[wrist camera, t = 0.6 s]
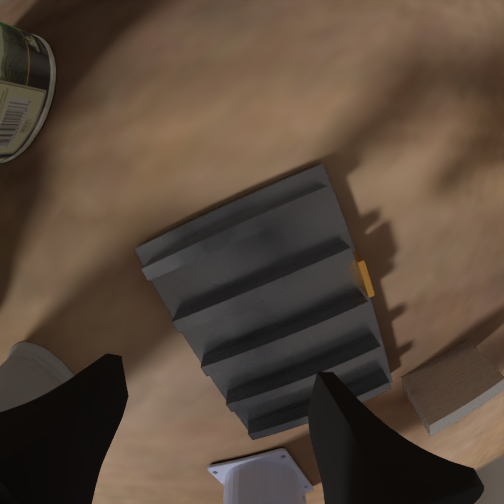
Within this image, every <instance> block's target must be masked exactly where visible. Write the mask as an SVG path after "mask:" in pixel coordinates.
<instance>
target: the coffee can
mask: <svg viewBox="0 0 504 504" xmlns="http://www.w3.org/2000/svg"><path fill="white" fill-rule="evenodd" d="M55 82H56V65H55V59H54V55H53V52H52V50H51V48H50V46H49V44H48V43H47V42H46V41H45V40H44V39H43V38H41V37H39V36H37V35H34V34H30V33H28V32H25V31H23V30H21V29H18V28H16V27H13V26H11V25H8V24H6V23H3V22H1V21H0V163H4V162H7V161H10V160H12V159H14V158H16V157H17V156H19V155H20V154H21V153H22V152H23V151H24V150H25V149H26V148H27V147H28V146H29V145H30V144H31V142H32V141H33V140H34V138H35V137H36V135H37V134H38V132H39V131H40V129H41V127H42V125H43V123H44V121H45V119H46V117H47V114H48V112H49V109H50V106H51V102H52V99H53V95H54V89H55Z"/></svg>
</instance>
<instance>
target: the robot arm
mask: <svg viewBox="0 0 504 504" xmlns="http://www.w3.org/2000/svg"><path fill="white" fill-rule="evenodd" d="M127 400H128V391H127V386H126V380H125V375H124V369H123V363H122V356H119V355H113V354H105V355H104V356H102V357H101V358H99V359H98V360H96V361H95V362H94V363H92V364H91V365H89V366H88V367H87V368H85V369H84V370H82V371H81V372H79V373H78V374H76V375H75V376H74V377H72V378H71V379H69V380H68V381H66V382H64V383H63V384H61V385H59V386H58V387H56V388H54V389H53V390H51V391H49V392H48V393H46V394H44V395H42V396H40V397H38V398H36V399H34V400H32V401H29V402H27V403H25V404H22V405H19V406H17V407H14V408H11V409H8V410H5V411H2V412H0V504H92V500H93V495H94V491H95V487H96V483H97V479H98V476H99V472H100V468H101V466H102V463H103V460H104V458H105V456H106V453H107V451H108V449H109V447H110V444H111V442H112V440H113V438H114V435H115V433H116V431H117V429H118V426H119V424H120V422H121V419H122V417H123V414H124V410H125V407H126V403H127ZM307 412H308V422H309V431H310V436H311V440H312V444H313V449H314V453H315V456H316V460H317V464H318V468H319V472H320V476H321V480H322V485H323V492H324V500H325V504H474V503H475V502H476V501H477V500H478V499H479V498H480V496H481V495H482V493H483V491H484V485H483V484H482V482H481V480H480V478H479V477H478V475H477V473H476V471H475V470H474V468H470V467H467V466H464V465H461V464H457V463H454V462H451V461H448V460H446V459H444V458H441V457H439V456H437V455H434V454H432V453H430V452H428V451H426V450H424V449H422V448H420V447H419V446H417V445H415V444H413V443H412V442H410V441H408V440H407V439H405V438H404V437H402V436H401V435H399V434H398V433H397V432H395V431H394V430H392V429H391V428H390V427H388V426H387V425H386V424H385V423H383V422H382V421H381V420H380V419H379V418H378V417H376V416H375V415H374V414H373V413H372V412H371V411H370V410H369V409H368V408H367V407H366V406H365V405H364V404H363V403H362V402H361V401H360V400H359V399H358V398H357V397H356V396H355V395H354V394H353V393H352V392H351V391H350V390H349V389H348V388H347V387H346V386H345V384H344V383H343V382H342V381H341V380H340V379H339V378H338V377H337V376H336V374H335V373H334V372H317V375H316V379H315V383H314V387H313V391H312V395H311V399H310V403H309V407H308V410H307ZM208 471H209V472H210V473H211V474H212V475H213V476H214V477H215V478H217V479H218V480H219V481H220V482H221V483H222V484H223V485H224V496H223V504H307V503H306V496H305V493H307V492H310V491H312V490H313V486H312V485H311V483H310V482H309V481H308V479H307V478H306V476H305V475H304V474H303V472H302V471H301V470H300V468H299V467H298V466H297V464H296V463H295V461H294V460H293V459H292V457H291V456H290V454H289V453H288V452H287V450H286V449H284V448H280V449H276V450H272V451H269V452H265V453H261V454H257V455H253V456H249V457H245V458H241V459H237V460H232V461H227V462H222V463H217V464H212V465H209V466H208Z"/></svg>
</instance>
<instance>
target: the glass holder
mask: <svg viewBox="0 0 504 504" xmlns="http://www.w3.org/2000/svg"><path fill="white" fill-rule="evenodd" d="M72 377H74V375H73V374H72V372H71V371H70V370H69V368H68V367H67V366H66V365H65V364H64V363H63V362H62V361H61V360H60V359H59V358H58V357H56V356H55V355H54V354H52V353H51V352H50V351H48V350H46V349H45V348H43V347H41V346H39V345H37V344H34V343H30V342H19V343H17V344H15V345H14V346H13V347H12V348H11V350H10V352H9V355H8V358H7V360H6V361H5V362H4V363H3V364H2V365H1V366H0V412H2V411H5V410H8V409H11V408H14V407H17V406H19V405H22V404H25V403H27V402H29V401H32V400H34V399H36V398H38V397H40V396H42V395H44V394H46V393H48V392H49V391H51V390H53V389H54V388H56V387H58V386H59V385H61V384H63V383H64V382H66V381H68V380H69V379H71V378H72Z"/></svg>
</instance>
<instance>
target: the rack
mask: <svg viewBox="0 0 504 504" xmlns="http://www.w3.org/2000/svg"><path fill="white" fill-rule="evenodd" d="M134 250H135V251H136V253H137V255H138V257H139V259H140V261H141V263H142V265H143V268H142V269H141V270H142V271H143V273H144V275H145V277H146V279H147V280H148V281H150V280H151V281H152V283H153V284H154V286H155V288H156V290H157V292H158V293H159V295H160V297H161V299H162V300H163V302H164V304H165V305H166V307H167V309H168V311H169V312H170V314H171V316H172V317H173V320H172V323H173V325H174V327H175V328H176V330H177V331H178V333H179V332H182V334H183V335H184V337H185V339H186V340H187V342H188V343H189V345H190V346H191V348H192V350H193V351H194V353H195V354H196V356H197V357H198V359H199V360H200V362H201V369H202V370H203V372H204V373H205V375H206V376H210V377H211V379H212V380H213V382H214V383H215V385H216V386H217V387H218V389H219V390H220V392H221V393H222V395H223V396H224V398H225V399H226V400H227V401H226V405H227V406H228V408H229V409H230V411H231V412H233V411H234V412H235V413H236V414H237V416H238V417H239V419H240V420H241V421H242V423H243V424H244V425H245V427H246V428H247V429H248V435H249V436H250V437H251V439H252V440H255V439H258V438H262V437H266V436H269V435H272V434H276V433H279V432H282V431H286V430H289V429H292V428H295V427H298V426H301V425H304V424H307V423H309V422H308V412H307V410H308V407H309V403H310V399H311V395H312V391H313V387H314V383H315V379H316V375H317V372H334V373H335V374H336V376H337V377H338V378H339V379H340V380H341V381H342V382H343V383H344V384H345V386H346V387H347V388H348V389H349V390H350V391H351V392H352V393H353V394H354V395H355V396H356V397H357V398H358V399H359V400H360V401H361V402H364V401H366V400H368V399H371V398H373V397H375V396H377V395H379V394H382V393H384V392H386V391H388V390H390V389H392V388H391V384H390V383H392V377H391V373H390V369H389V365H388V361H387V357H386V353H385V349H384V345H383V341H382V337H381V333H380V330H379V326H378V322H377V319H376V315H375V312H374V308H373V305H372V302H371V298H370V297H372V296H374V295H375V294H374V290H373V287H372V284H371V280H370V277H369V274H368V271H367V267H366V264H365V261H364V259H363V258H362V257H361V256H359V255H358V254H357V253H356V251H355V248H354V245H353V242H352V239H351V236H350V233H349V231H348V228H347V225H346V222H345V219H344V217H343V214H342V211H341V209H340V206H339V203H338V201H337V198H336V195H335V193H334V190H333V188H332V185H331V183H330V180H329V177H328V175H327V172H326V170H325V168H324V165H323V164H320V163H319V164H316V165H314V166H311V167H309V168H307V169H304V170H302V171H299V172H297V173H295V174H292V175H290V176H287V177H285V178H283V179H280V180H278V181H276V182H273V183H271V184H269V185H266V186H264V187H262V188H260V189H257V190H255V191H253V192H250V193H248V194H246V195H244V196H241V197H239V198H237V199H235V200H233V201H230V202H228V203H226V204H224V205H221V206H219V207H217V208H215V209H213V210H211V211H208V212H206V213H204V214H202V215H200V216H198V217H196V218H193V219H191V220H189V221H187V222H185V223H183V224H181V225H179V226H177V227H175V228H173V229H170V230H168V231H166V232H164V233H162V234H160V235H158V236H156V237H154V238H152V239H150V240H148V241H146V242H144V243H142V244H140V245H139V246H137V247H136V248H135V249H134Z"/></svg>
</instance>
